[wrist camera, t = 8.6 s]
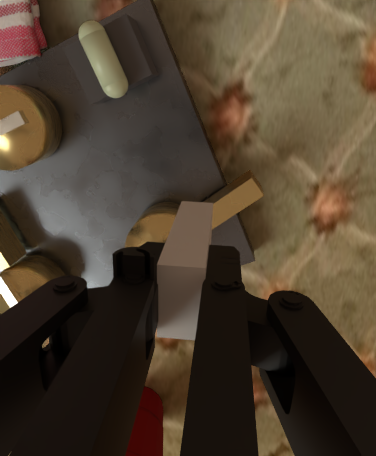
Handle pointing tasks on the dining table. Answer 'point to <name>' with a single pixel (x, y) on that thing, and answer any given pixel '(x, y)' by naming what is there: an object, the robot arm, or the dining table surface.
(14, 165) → the knob
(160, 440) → the plastic cup
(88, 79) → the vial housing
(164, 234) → the knob
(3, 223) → the knob
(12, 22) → the dish towel
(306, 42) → the dining table surface
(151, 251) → the robot arm
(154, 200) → the levelling plate
